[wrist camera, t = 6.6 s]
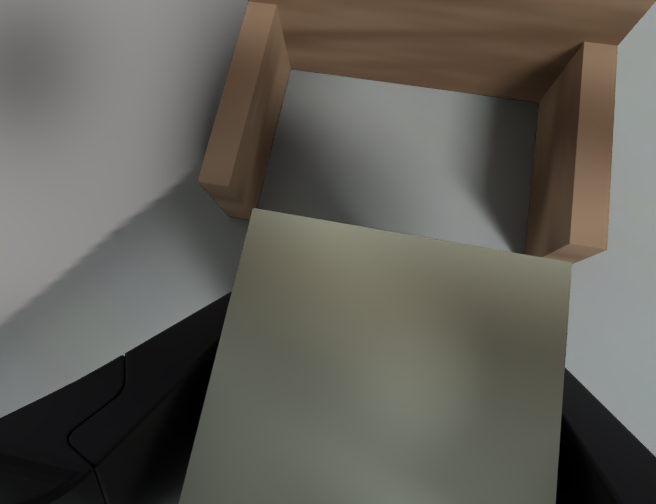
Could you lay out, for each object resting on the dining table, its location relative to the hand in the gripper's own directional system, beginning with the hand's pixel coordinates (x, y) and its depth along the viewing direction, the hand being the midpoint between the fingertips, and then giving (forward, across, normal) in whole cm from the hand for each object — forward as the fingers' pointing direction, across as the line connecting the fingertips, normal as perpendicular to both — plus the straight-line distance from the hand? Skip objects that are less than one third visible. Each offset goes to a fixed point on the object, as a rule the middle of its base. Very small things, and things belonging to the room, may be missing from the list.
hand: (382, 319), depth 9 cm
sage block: (+4, 0, +6) cm, 7 cm away
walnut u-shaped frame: (+12, 0, 0) cm, 12 cm away
